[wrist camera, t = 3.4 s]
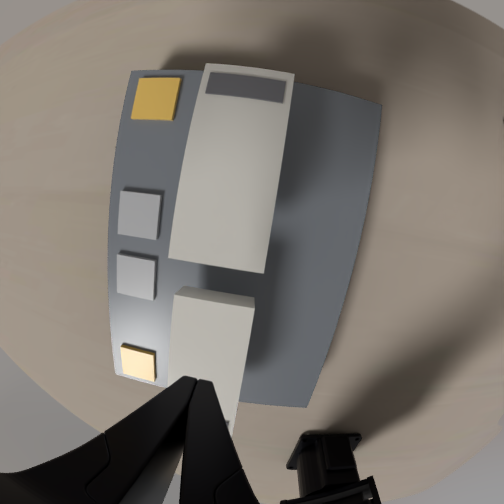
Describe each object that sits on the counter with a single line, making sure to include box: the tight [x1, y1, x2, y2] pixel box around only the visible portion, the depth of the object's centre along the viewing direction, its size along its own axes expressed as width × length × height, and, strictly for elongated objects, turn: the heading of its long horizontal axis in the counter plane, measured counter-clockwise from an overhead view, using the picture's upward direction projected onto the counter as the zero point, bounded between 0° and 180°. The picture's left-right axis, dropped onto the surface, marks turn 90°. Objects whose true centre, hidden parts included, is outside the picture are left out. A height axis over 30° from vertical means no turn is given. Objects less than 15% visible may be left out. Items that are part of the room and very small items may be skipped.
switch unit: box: [108, 70, 382, 408], centre depth 16 cm, size 20×14×4 cm
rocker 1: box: [168, 63, 295, 274], centre depth 11 cm, size 8×4×2 cm, turn 171°
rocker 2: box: [167, 286, 255, 438], centre depth 14 cm, size 8×4×2 cm, turn 171°
